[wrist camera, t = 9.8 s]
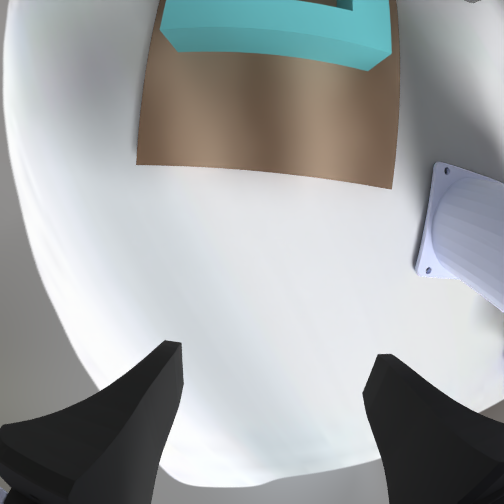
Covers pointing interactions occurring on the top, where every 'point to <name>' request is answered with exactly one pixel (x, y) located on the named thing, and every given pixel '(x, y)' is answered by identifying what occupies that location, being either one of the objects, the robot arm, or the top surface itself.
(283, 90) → the peg board
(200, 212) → the top surface
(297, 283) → the top surface
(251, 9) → the loop
